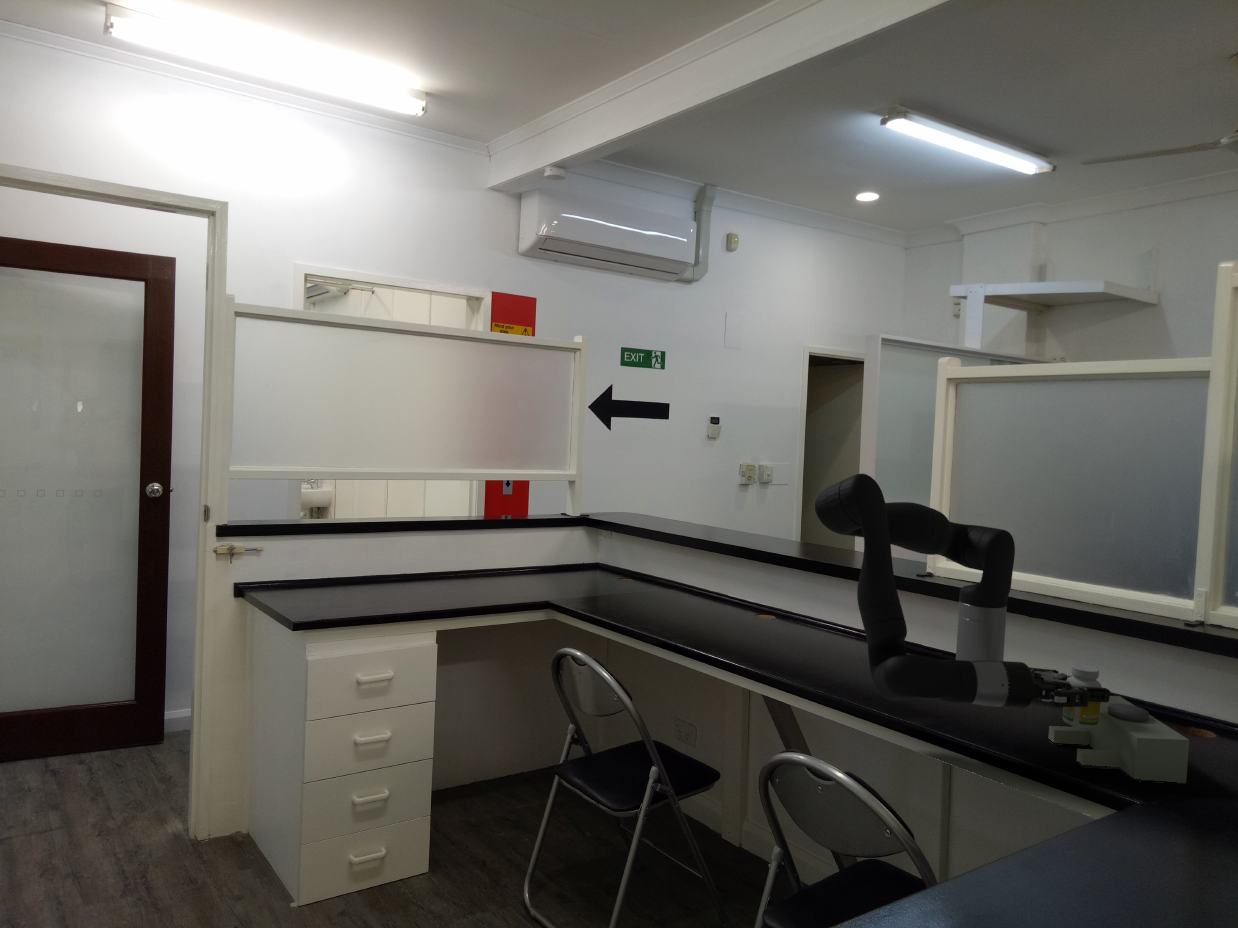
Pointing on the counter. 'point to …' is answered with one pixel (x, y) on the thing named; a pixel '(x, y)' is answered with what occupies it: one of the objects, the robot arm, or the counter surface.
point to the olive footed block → (1129, 743)
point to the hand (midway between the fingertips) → (1098, 689)
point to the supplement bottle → (1089, 714)
